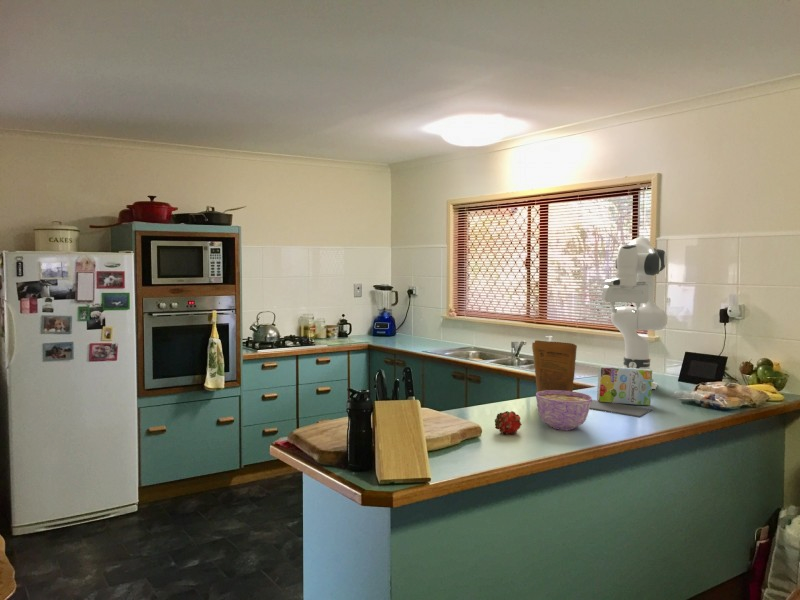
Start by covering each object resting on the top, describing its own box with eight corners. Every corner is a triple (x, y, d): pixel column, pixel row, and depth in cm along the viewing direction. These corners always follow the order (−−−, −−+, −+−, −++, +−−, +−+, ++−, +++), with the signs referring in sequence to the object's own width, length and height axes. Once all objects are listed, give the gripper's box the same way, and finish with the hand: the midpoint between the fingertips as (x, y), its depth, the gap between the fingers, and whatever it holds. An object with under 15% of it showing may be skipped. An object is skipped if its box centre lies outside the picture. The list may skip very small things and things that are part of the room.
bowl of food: (603, 430, 238) (604, 398, 237) (561, 437, 228) (562, 403, 227) (563, 418, 255) (564, 388, 254) (522, 423, 245) (524, 392, 244)
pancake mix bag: (569, 415, 260) (572, 344, 258) (528, 406, 273) (531, 339, 272) (578, 413, 265) (581, 343, 263) (537, 404, 278) (540, 338, 276)
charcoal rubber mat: (590, 400, 289) (590, 399, 289) (651, 410, 273) (651, 408, 273) (576, 406, 276) (576, 405, 276) (639, 417, 260) (640, 415, 260)
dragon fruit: (494, 440, 227) (514, 439, 235) (512, 430, 222) (533, 429, 230) (485, 417, 231) (506, 417, 239) (503, 406, 226) (523, 407, 234)
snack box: (646, 403, 286) (649, 368, 286) (650, 406, 280) (652, 370, 280) (596, 399, 288) (598, 365, 288) (598, 402, 282) (601, 366, 282)
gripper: (645, 282, 297) (643, 312, 298) (601, 280, 295) (599, 311, 296) (652, 282, 291) (650, 314, 292) (607, 281, 289) (605, 313, 290)
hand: (624, 312), depth 294 cm, fingers open, 8 cm apart
